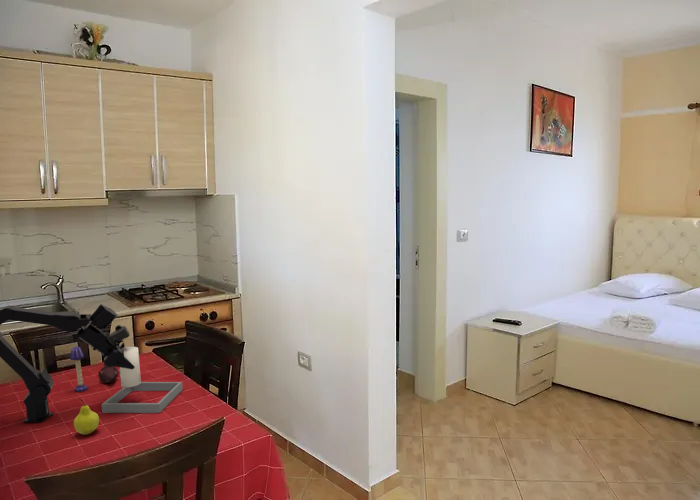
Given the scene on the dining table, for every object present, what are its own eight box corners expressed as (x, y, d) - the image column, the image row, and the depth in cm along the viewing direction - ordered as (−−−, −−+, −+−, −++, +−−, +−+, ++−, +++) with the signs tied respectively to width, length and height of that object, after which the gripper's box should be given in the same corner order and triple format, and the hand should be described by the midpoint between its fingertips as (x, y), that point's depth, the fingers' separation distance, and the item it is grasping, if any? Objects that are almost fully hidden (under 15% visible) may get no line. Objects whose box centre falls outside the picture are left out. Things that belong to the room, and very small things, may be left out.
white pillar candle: (135, 387, 180) (132, 352, 178) (117, 387, 180) (114, 352, 179) (144, 380, 186) (141, 346, 184) (126, 380, 186) (124, 346, 185)
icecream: (123, 368, 201) (116, 361, 213) (102, 368, 197) (96, 361, 209) (120, 387, 200) (113, 379, 212) (99, 386, 196) (93, 378, 208)
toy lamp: (83, 392, 194) (79, 349, 192) (70, 392, 195) (66, 349, 192) (89, 387, 199) (85, 345, 197) (77, 387, 199) (73, 345, 197)
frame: (159, 412, 175) (158, 404, 174) (102, 412, 176) (101, 404, 176) (182, 389, 195) (182, 382, 194) (130, 389, 196) (130, 382, 196)
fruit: (94, 426, 166) (90, 390, 165) (104, 432, 162) (100, 395, 161) (71, 434, 161) (67, 397, 160) (81, 440, 157) (77, 402, 155)
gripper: (112, 327, 170) (150, 354, 176) (114, 314, 187) (149, 340, 193) (87, 353, 168) (127, 381, 174) (92, 338, 185) (128, 364, 191)
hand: (133, 365), depth 183 cm, fingers closed on white pillar candle, 6 cm apart
